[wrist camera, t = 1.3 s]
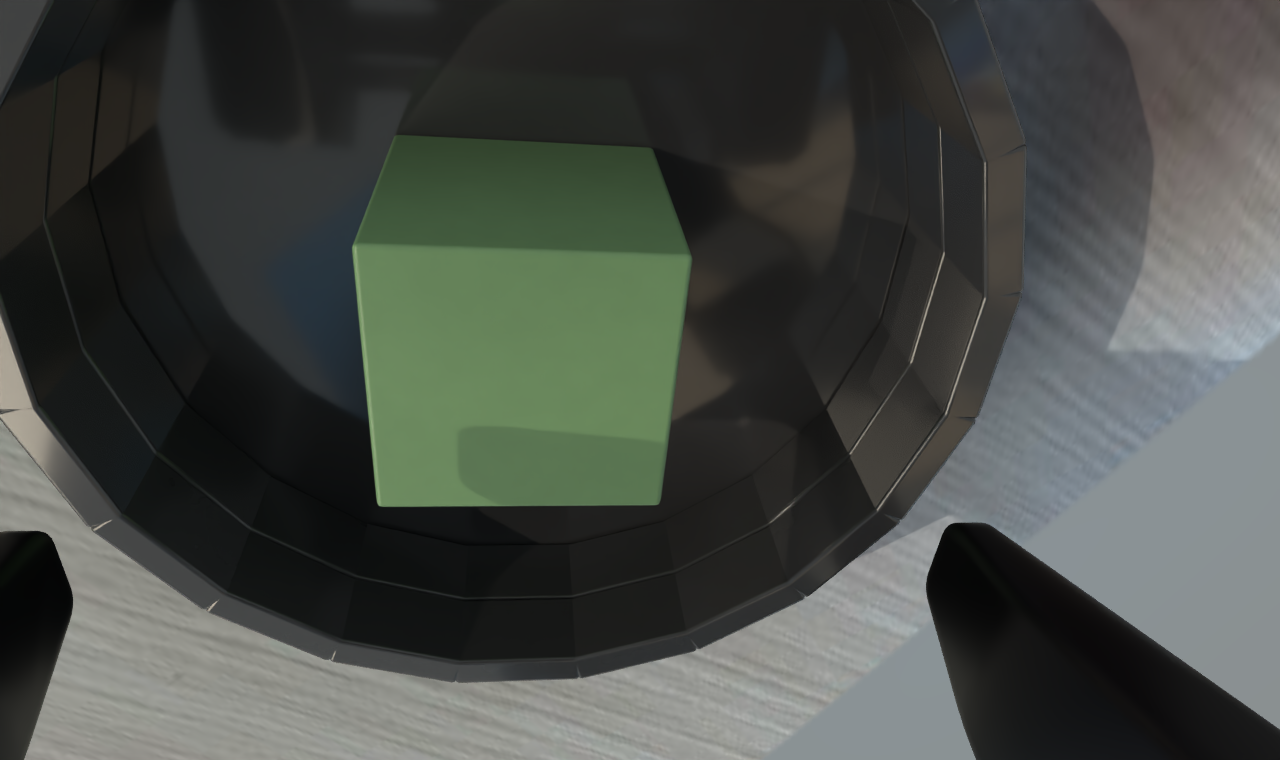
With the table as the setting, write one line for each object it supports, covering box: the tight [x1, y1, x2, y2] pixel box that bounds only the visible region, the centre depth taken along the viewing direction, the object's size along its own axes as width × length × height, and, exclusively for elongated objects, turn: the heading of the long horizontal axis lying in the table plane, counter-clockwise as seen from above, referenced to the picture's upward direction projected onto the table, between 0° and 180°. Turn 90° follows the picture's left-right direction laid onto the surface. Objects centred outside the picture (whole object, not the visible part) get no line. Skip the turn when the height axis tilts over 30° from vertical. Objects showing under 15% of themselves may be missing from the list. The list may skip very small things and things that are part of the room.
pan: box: [0, 0, 1027, 683], centre depth 14 cm, size 14×14×4 cm
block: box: [352, 135, 692, 507], centre depth 13 cm, size 4×4×4 cm
